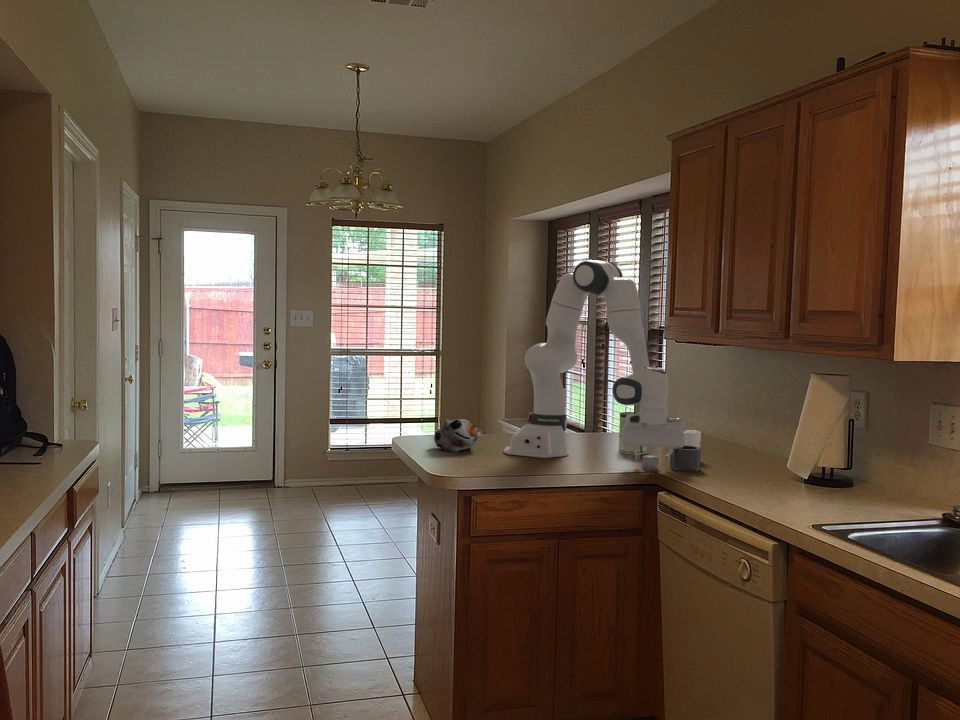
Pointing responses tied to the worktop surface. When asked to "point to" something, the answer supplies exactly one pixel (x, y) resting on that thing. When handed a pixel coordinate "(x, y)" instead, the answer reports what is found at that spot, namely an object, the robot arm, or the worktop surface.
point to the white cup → (692, 438)
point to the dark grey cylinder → (686, 458)
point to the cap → (650, 462)
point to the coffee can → (628, 448)
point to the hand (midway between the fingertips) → (652, 460)
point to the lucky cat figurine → (456, 435)
